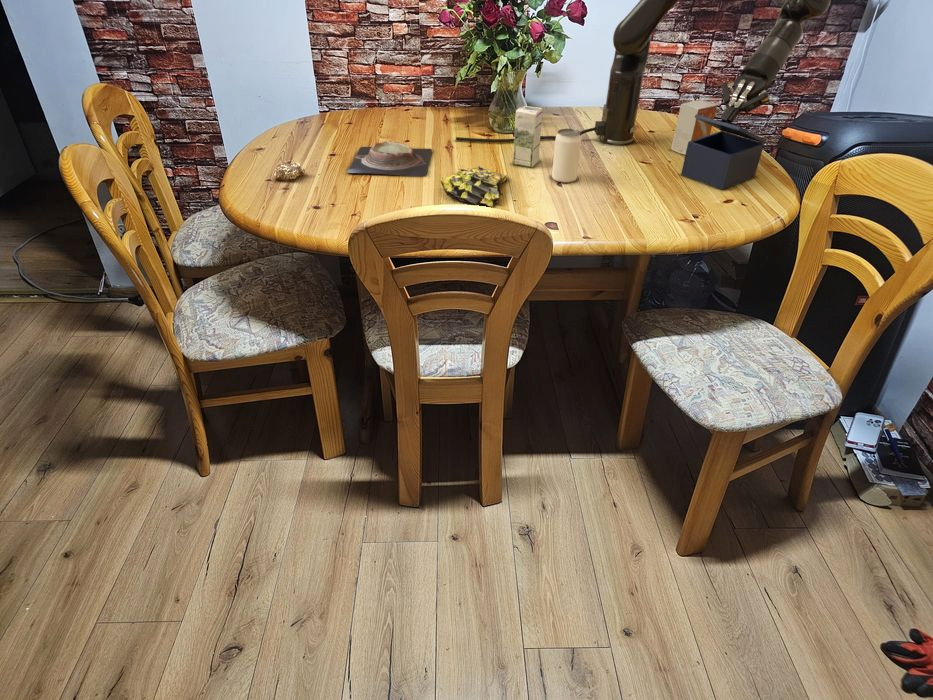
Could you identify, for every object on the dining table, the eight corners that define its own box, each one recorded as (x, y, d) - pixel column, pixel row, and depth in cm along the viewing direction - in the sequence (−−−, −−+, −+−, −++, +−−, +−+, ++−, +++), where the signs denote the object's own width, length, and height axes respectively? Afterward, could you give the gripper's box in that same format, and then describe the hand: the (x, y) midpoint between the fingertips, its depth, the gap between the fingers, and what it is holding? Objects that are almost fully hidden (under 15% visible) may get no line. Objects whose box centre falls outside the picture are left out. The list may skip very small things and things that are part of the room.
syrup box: (539, 161, 171) (543, 107, 163) (531, 168, 167) (535, 113, 158) (519, 158, 173) (523, 104, 164) (512, 165, 169) (515, 110, 160)
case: (722, 190, 156) (731, 155, 151) (680, 174, 164) (688, 141, 159) (754, 176, 164) (764, 143, 158) (713, 162, 171) (721, 130, 166)
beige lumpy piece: (279, 185, 156) (277, 171, 154) (271, 177, 161) (268, 163, 159) (310, 179, 160) (308, 165, 158) (300, 171, 164) (298, 157, 162)
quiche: (346, 174, 163) (344, 159, 160) (360, 148, 179) (359, 134, 176) (425, 176, 162) (424, 161, 160) (432, 149, 178) (432, 135, 176)
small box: (687, 156, 175) (698, 109, 167) (670, 150, 179) (680, 103, 171) (706, 151, 179) (718, 104, 171) (689, 145, 183) (699, 99, 175)
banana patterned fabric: (468, 173, 166) (476, 150, 163) (519, 200, 163) (529, 178, 159) (430, 187, 151) (437, 162, 147) (486, 218, 147) (495, 193, 143)
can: (560, 185, 158) (565, 137, 151) (546, 176, 163) (551, 130, 155) (581, 180, 161) (587, 134, 153) (567, 172, 165) (572, 126, 158)
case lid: (738, 130, 147) (740, 126, 147) (694, 117, 155) (695, 114, 155) (764, 143, 158) (765, 140, 158) (721, 130, 166) (722, 127, 166)
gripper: (739, 47, 153) (697, 107, 155) (789, 57, 145) (745, 120, 146) (745, 67, 159) (705, 124, 161) (794, 77, 151) (751, 138, 152)
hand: (724, 122), depth 154 cm, fingers closed
